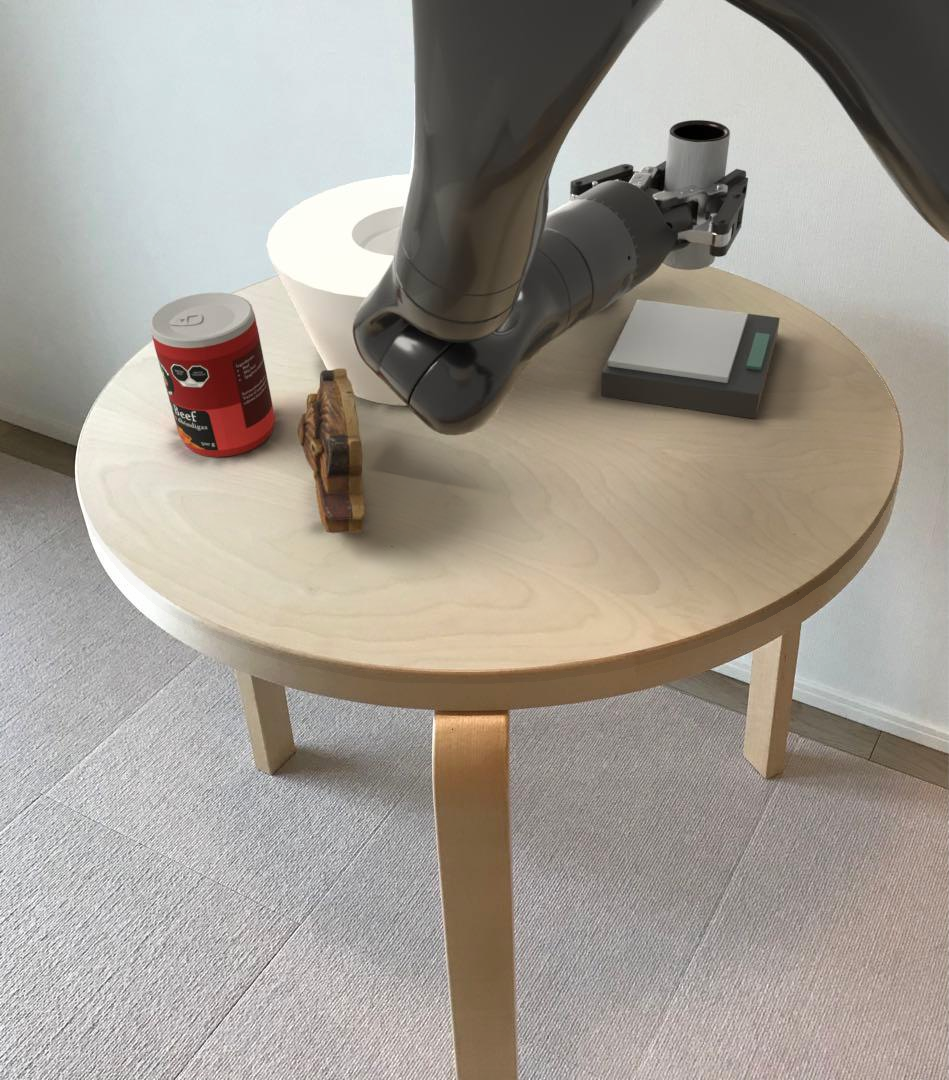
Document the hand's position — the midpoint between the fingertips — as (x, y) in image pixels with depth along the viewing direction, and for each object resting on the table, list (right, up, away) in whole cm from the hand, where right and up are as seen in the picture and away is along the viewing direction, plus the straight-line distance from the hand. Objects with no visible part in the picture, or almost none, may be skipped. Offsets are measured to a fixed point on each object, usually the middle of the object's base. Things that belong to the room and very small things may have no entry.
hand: (710, 175), depth 84 cm
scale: (0, -14, +10) cm, 17 cm away
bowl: (-24, -12, +14) cm, 30 cm away
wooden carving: (-29, -26, -3) cm, 39 cm away
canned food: (-39, -20, +5) cm, 44 cm away
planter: (-1, -6, +2) cm, 7 cm away
